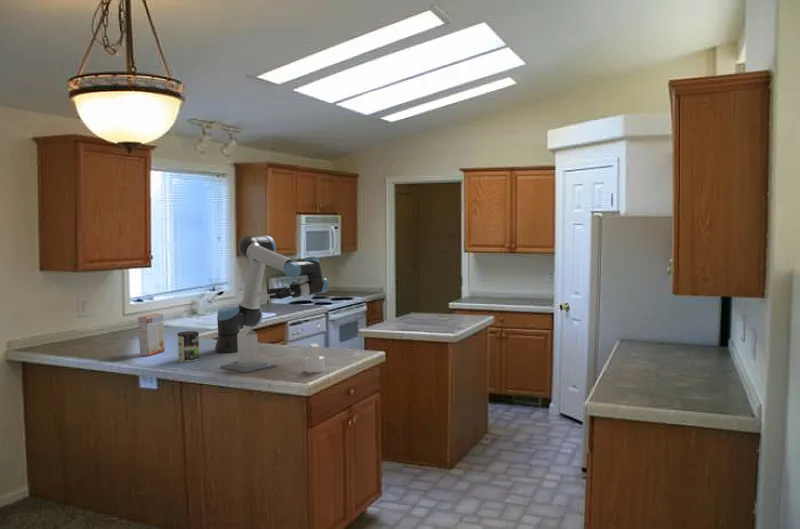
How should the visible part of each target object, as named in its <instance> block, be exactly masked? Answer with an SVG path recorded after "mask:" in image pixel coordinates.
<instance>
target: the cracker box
mask: <svg viewBox="0 0 800 529" xmlns="http://www.w3.org/2000/svg"><path fill="white" fill-rule="evenodd" d="M137 322H138V342H139V343H138V344H139V357H150V356H153V355H157V354H159V353H162V352H163V351H164V352H165V347H166V346H165V329H164V328H165V327H164V314H163V313H153V314H147V315H142V316H139V317H137Z"/></svg>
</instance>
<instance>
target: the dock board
mask: <svg viewBox="0 0 800 529" xmlns="http://www.w3.org/2000/svg"><path fill="white" fill-rule="evenodd" d="M276 367H277V364H275V363H271V362H267V365H262V366H258V367H253V368H248V369H243V368H238V367H234V366H230V363H226V364H221V365H220V367H219V368H220V369H225V370H230V371H234V372H238V373H243V374H250V373H254V372H258V371H263V370H268V369H271V368H276Z"/></svg>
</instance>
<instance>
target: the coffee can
mask: <svg viewBox="0 0 800 529" xmlns="http://www.w3.org/2000/svg"><path fill="white" fill-rule="evenodd" d="M199 336H200V335H199V331H195V330H193V331H192V330H190V331H189V330H187V331H181V332H177V344H178V345H177V349H178V361H179V362H180V363H181V362H182V363H187V362H188V363H189V362H196V361H199V360H200V338H199Z"/></svg>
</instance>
